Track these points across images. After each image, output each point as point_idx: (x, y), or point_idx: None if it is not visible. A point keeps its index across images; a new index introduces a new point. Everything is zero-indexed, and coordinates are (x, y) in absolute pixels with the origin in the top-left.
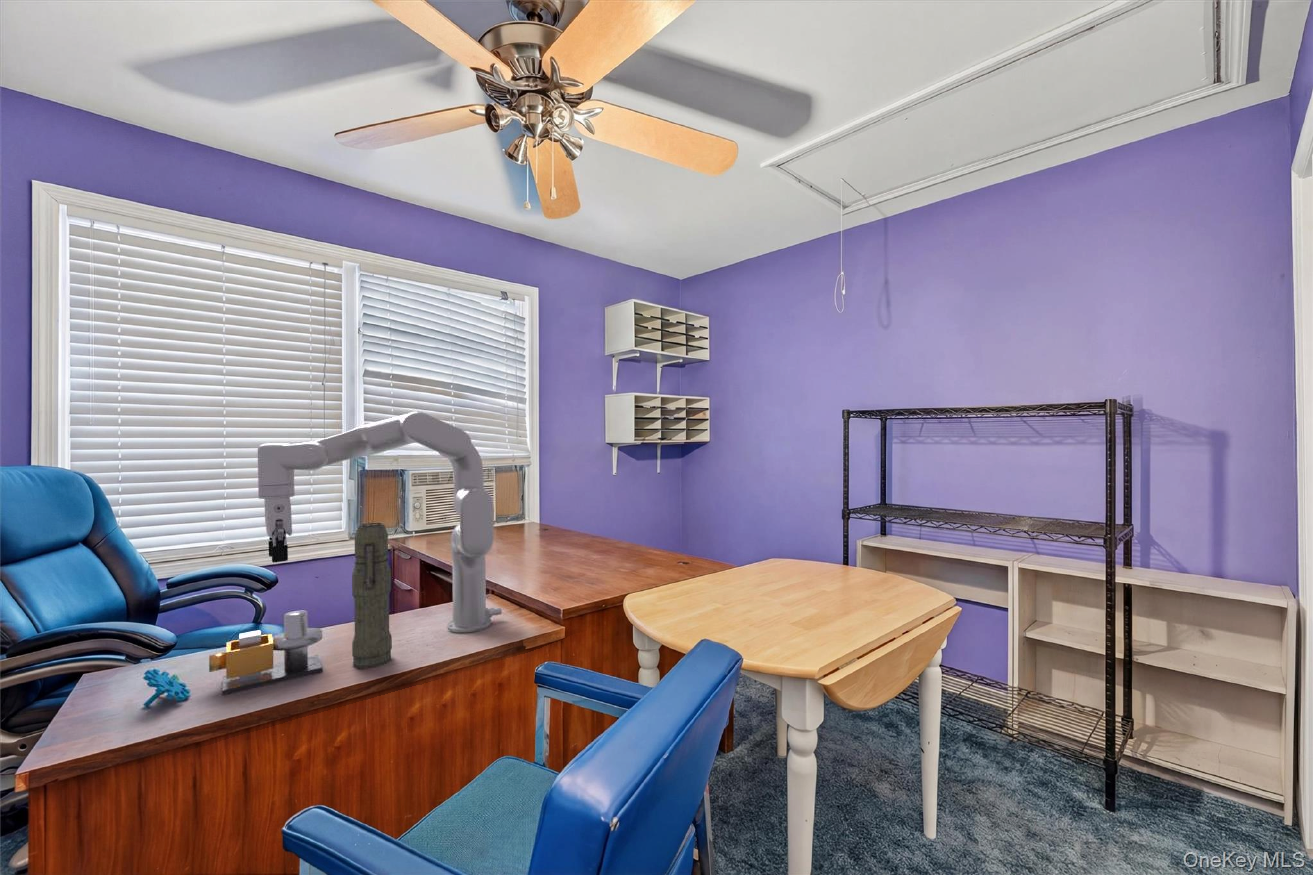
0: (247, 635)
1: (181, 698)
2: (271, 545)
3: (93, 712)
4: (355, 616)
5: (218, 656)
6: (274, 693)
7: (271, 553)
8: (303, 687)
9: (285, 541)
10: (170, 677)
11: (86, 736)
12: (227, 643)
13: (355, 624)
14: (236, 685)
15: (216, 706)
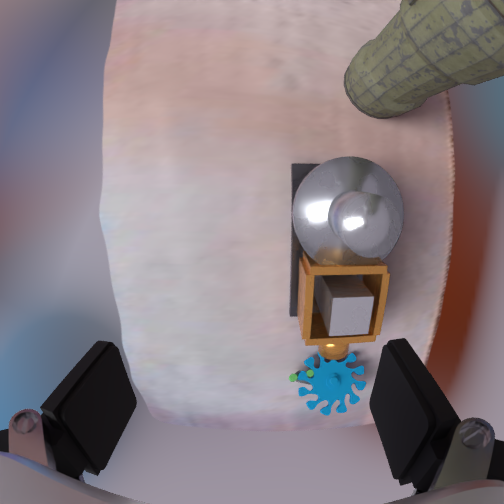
0: (357, 320)
1: (354, 355)
2: (107, 445)
3: (295, 417)
4: (432, 93)
5: (345, 346)
6: (411, 245)
7: (127, 406)
8: (418, 206)
9: (489, 444)
10: (312, 383)
11: (366, 408)
12: (315, 344)
13: (422, 97)
14: None
15: (396, 313)
